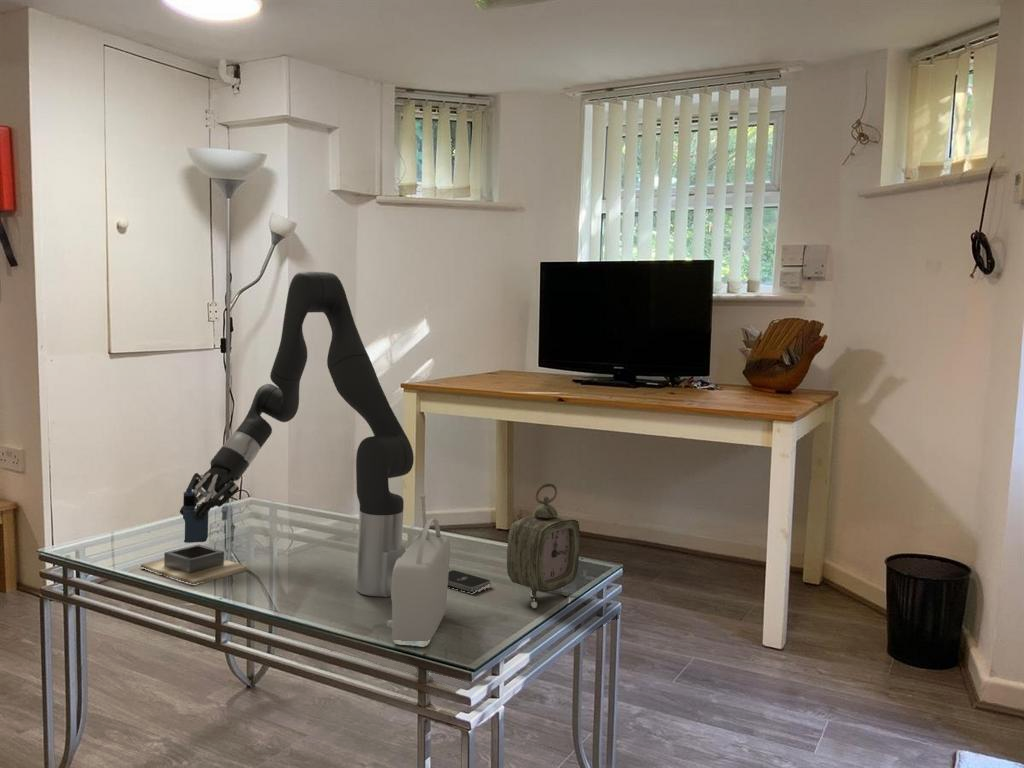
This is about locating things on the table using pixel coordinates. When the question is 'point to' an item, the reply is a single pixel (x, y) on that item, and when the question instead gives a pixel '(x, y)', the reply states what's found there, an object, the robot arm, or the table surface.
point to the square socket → (193, 559)
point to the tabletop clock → (543, 548)
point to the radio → (420, 585)
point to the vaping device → (193, 520)
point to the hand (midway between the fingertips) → (189, 516)
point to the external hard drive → (466, 581)
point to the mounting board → (196, 577)
